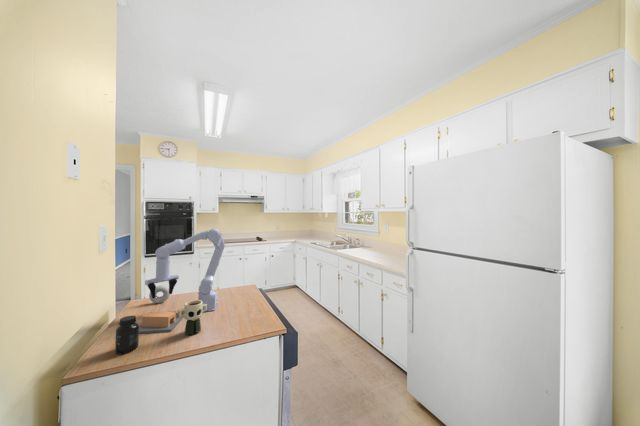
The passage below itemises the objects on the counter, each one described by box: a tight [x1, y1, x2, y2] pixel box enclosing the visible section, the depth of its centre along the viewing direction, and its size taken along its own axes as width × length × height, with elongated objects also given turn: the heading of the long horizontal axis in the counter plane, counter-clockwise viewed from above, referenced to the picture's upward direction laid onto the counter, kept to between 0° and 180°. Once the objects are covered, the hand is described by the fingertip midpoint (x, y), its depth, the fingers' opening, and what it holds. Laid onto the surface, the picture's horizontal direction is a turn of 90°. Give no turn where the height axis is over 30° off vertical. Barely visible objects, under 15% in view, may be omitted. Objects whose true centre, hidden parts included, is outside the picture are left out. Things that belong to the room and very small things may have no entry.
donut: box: [149, 285, 171, 304], centre depth 133 cm, size 10×4×10 cm, turn 119°
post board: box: [139, 316, 183, 335], centre depth 106 cm, size 15×12×4 cm
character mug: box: [178, 299, 207, 335], centre depth 102 cm, size 11×7×13 cm, turn 132°
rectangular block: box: [141, 311, 177, 327], centre depth 106 cm, size 12×5×4 cm, turn 90°
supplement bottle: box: [114, 315, 140, 355], centre depth 88 cm, size 7×7×12 cm
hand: (162, 295), depth 119 cm, fingers open, 7 cm apart
